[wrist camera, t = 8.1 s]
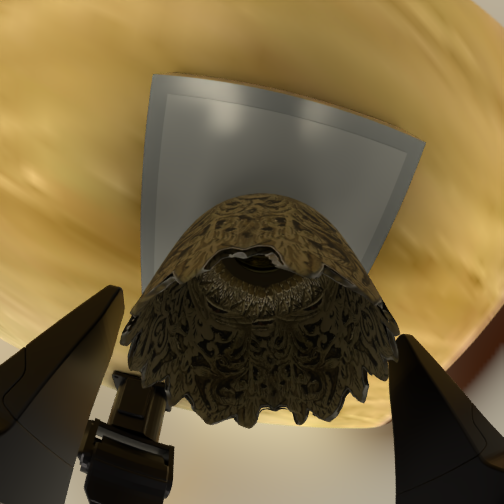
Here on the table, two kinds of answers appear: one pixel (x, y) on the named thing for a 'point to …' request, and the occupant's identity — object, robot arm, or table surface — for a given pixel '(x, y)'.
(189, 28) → the table surface
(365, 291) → the cup
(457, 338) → the table surface
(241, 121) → the slate base
